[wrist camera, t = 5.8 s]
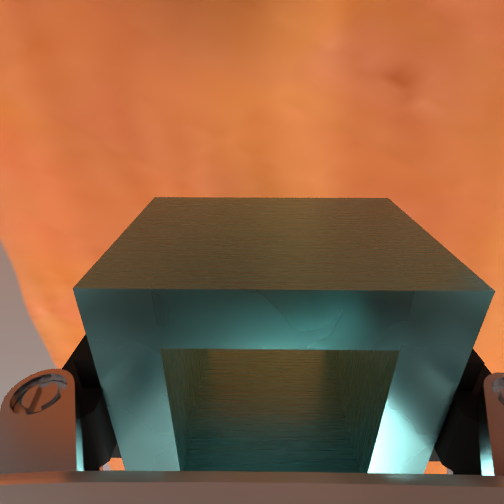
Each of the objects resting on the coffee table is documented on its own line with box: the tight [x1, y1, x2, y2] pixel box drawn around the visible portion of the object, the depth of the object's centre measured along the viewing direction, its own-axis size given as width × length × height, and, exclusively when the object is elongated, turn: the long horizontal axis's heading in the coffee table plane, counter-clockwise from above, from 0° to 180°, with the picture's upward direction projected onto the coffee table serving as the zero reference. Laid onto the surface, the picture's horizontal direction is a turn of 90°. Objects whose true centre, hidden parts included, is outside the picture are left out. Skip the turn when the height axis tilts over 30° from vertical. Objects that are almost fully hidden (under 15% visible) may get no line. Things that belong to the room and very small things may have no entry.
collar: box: [73, 197, 495, 474], centre depth 9 cm, size 7×7×5 cm
